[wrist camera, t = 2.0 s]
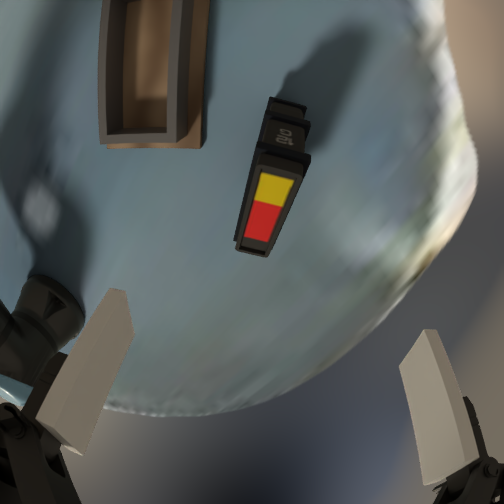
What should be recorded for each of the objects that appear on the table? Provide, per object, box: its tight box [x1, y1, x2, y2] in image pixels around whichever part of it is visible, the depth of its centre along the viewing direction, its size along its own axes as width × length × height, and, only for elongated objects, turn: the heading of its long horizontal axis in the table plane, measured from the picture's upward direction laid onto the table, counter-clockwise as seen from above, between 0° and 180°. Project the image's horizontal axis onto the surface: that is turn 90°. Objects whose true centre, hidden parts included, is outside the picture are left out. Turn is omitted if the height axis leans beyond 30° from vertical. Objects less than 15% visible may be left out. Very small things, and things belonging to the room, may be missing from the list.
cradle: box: [98, 0, 194, 144], centre depth 25 cm, size 9×18×4 cm, turn 176°
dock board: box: [107, 0, 210, 149], centre depth 27 cm, size 12×21×1 cm, turn 176°
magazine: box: [233, 97, 311, 257], centre depth 28 cm, size 4×13×15 cm, turn 167°
